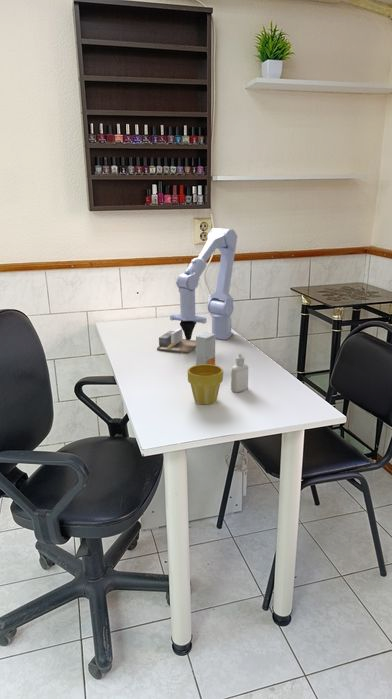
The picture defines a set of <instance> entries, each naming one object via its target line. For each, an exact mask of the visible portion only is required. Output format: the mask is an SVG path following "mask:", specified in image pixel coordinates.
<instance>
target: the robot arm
mask: <svg viewBox="0 0 392 699" xmlns="http://www.w3.org/2000/svg"><path fill="white" fill-rule="evenodd" d="M237 242H238V235H237V232H236V231H235V229H233V228H219V227H213V228H211V229H210V231H209V233H208V234H207V241H206V242H205V244H204V245H203V248H202V250H201V252H200V253H199V255H198V257H194V258H193V259H191V261H190V263H189V265H188V267H187V268H186V270H185V271H184V272H183V273H180V275H179V276H178V277H177V279H176V282H175V285H176V287H177V288H178V292H179V302H180V303H179V305H180V307H179V308H180V314H173V313H172V314H170V315H169V320H170V321H180V323H179V326H180V328H182V332H183V334H184V337H185V339H186V340H192V335H193V332H194V328H195V327H196V325H197V324H198V323H199V324H203V325H204V324H206V323H207V317H204V316H200V315H196V289H197V288H198V286H199V281H200V277H201V275H202V274H203V273H204V271H205V269H206V268H207V263H206V262H207V261H208V260H209V259H210V258H211V257H212V255H213V253H214V252H215V251H216V249H218V250H219V252H220V253H221V254H220V261H219V267H218V274H217V281H216V288H215V292H213V293H211V295H210V298H209V301H208V302H207V311H208V312H209V315H210V316H211V333H212V334H215V340H216V339H217V340H218V339H219V340H228V339H229V338H230V337H231V336H232V335H233V334H234V332H233V331H232V317H231V316H232V315H233V313H234V298H233V297H232V296H231V294H230V286H231V281H232V274H233V268H234V266H233V265H234V260H235V254H236V249H237Z"/></svg>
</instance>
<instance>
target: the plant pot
mask: <svg viewBox="0 0 392 699" xmlns="http://www.w3.org/2000/svg"><path fill="white" fill-rule="evenodd" d="M223 380H224V369H223V368H222V367H221V366H220V365H216V364H215V365H211V364H200V365H196V364H195V365H192V366H190V367H189V368H188V369H187V381H188V383H189V384H190V388H191V391H192V396H193V400H194V402H195V403H196V404H199V405H202V406H203V405H204V406H205V405H206V406H207V405H213V404H215V403H216V402H217V400H218V397H219V396H218V395H219V392H220V387H221V383H222V382H223Z"/></svg>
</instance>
